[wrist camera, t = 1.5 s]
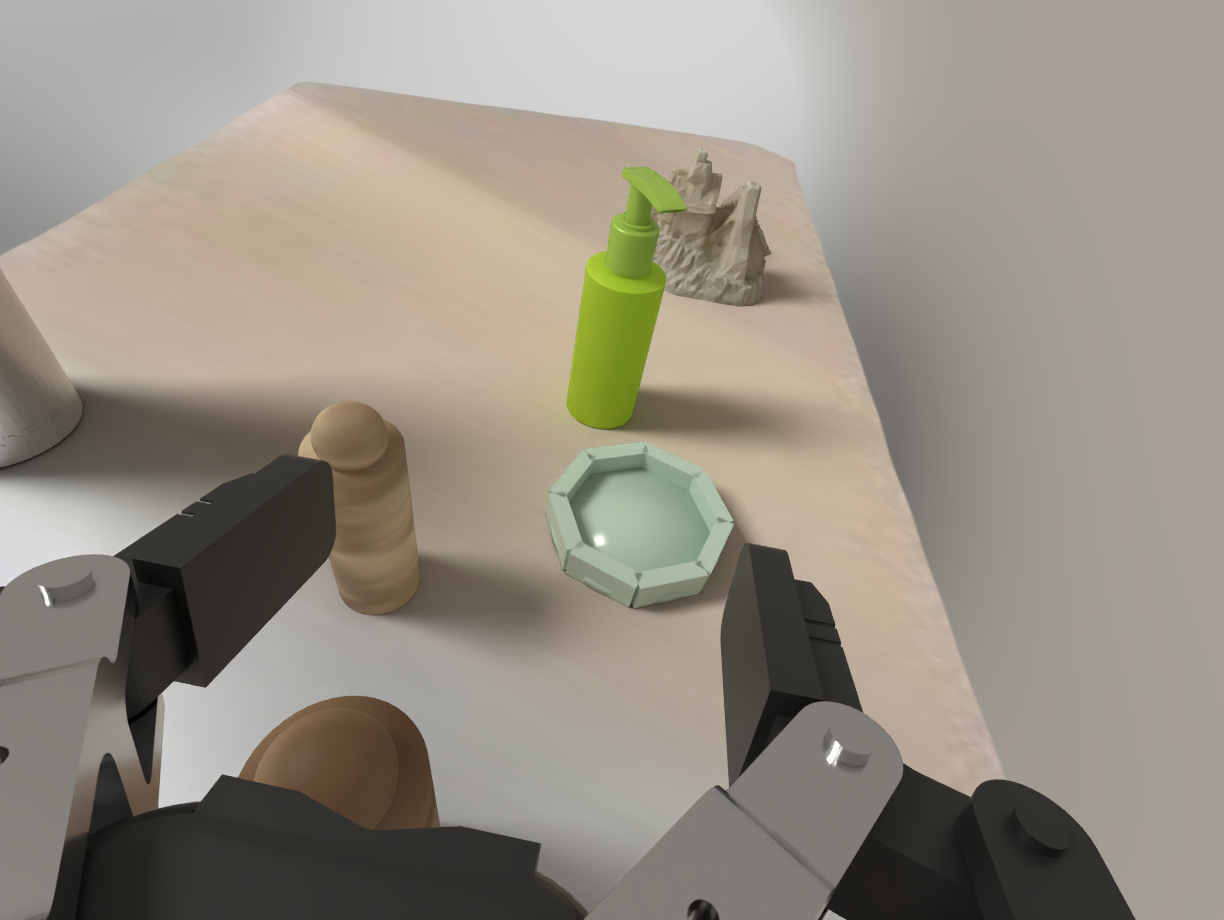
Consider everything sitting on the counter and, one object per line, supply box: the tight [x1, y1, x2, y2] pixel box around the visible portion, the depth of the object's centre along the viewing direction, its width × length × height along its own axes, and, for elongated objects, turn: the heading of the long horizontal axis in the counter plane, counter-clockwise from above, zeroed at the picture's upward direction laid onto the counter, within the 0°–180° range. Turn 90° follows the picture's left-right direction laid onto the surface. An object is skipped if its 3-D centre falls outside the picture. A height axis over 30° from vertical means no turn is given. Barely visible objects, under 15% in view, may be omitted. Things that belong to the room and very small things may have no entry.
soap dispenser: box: [567, 167, 687, 429], centre depth 45 cm, size 6×7×20 cm
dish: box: [546, 442, 734, 608], centre depth 43 cm, size 13×13×2 cm
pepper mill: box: [238, 696, 440, 830], centre depth 21 cm, size 5×5×18 cm
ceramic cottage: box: [650, 147, 771, 306], centre depth 69 cm, size 16×16×15 cm
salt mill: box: [298, 401, 420, 615], centre depth 33 cm, size 5×5×14 cm
